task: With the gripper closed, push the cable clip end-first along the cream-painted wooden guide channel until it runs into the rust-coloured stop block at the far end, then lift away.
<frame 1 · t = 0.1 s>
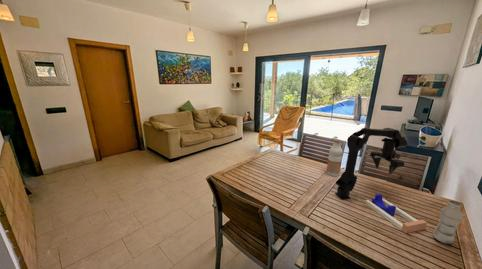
hand: (383, 170, 122), 15 cm above the table, fingers open, 9 cm apart
fruit juice: (332, 173, 150), on the table
cable clip: (381, 209, 109), resting in guide channel
guide channel: (390, 213, 105), on the table
plastic bottle: (441, 240, 87), on the table
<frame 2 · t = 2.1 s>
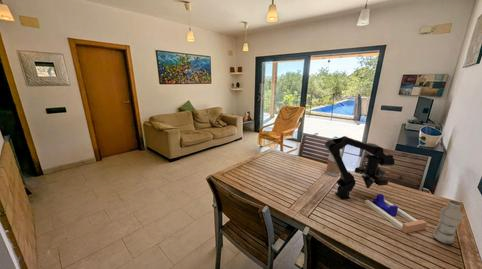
hand: (367, 187, 118), 6 cm above the table, fingers closed
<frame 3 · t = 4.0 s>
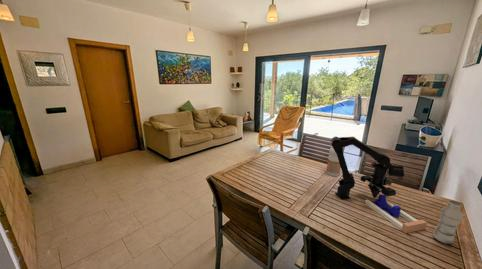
hand: (374, 197, 114), 3 cm above the table, fingers closed
cable clip: (386, 210, 108), resting in guide channel, touching gripper
everything else where it was.
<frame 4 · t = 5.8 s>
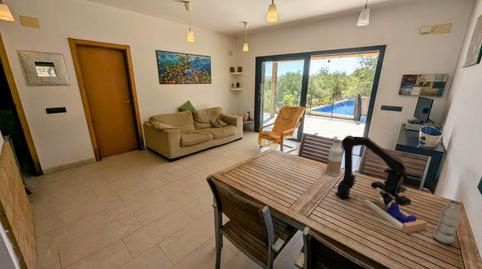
hand: (386, 205, 107), 3 cm above the table, fingers closed
cable clip: (399, 219, 101), resting in guide channel, touching gripper
everything else where it was.
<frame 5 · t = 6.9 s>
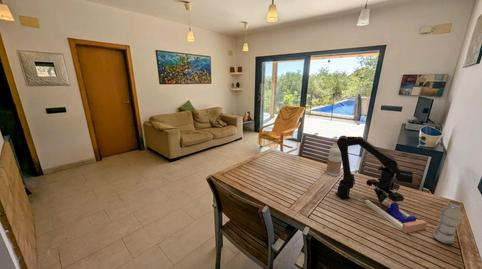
hand: (380, 202, 110), 3 cm above the table, fingers closed
cable clip: (399, 219, 101), resting in guide channel
everything else where it was.
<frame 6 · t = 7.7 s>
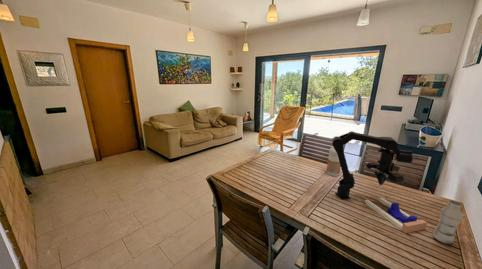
hand: (380, 184, 110), 13 cm above the table, fingers closed
nothing on the table moved.
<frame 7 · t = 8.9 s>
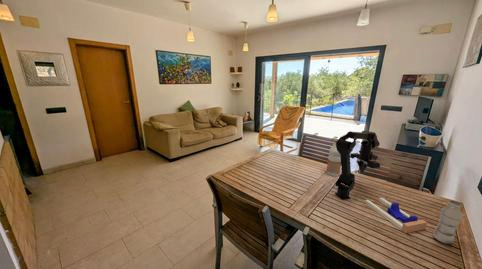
hand: (362, 172, 127), 12 cm above the table, fingers closed
nothing on the table moved.
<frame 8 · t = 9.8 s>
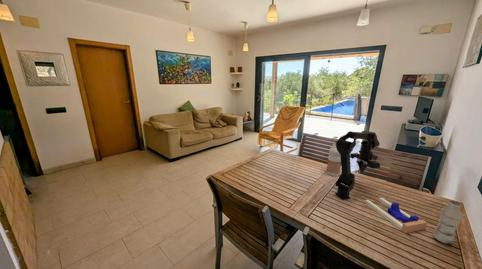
hand: (362, 172, 127), 12 cm above the table, fingers closed
nothing on the table moved.
at the end: cable clip inside the target area (1.6 cm from its centre), resting in guide channel; cable clip moved 9.9 cm from its start; cable clip touching table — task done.
